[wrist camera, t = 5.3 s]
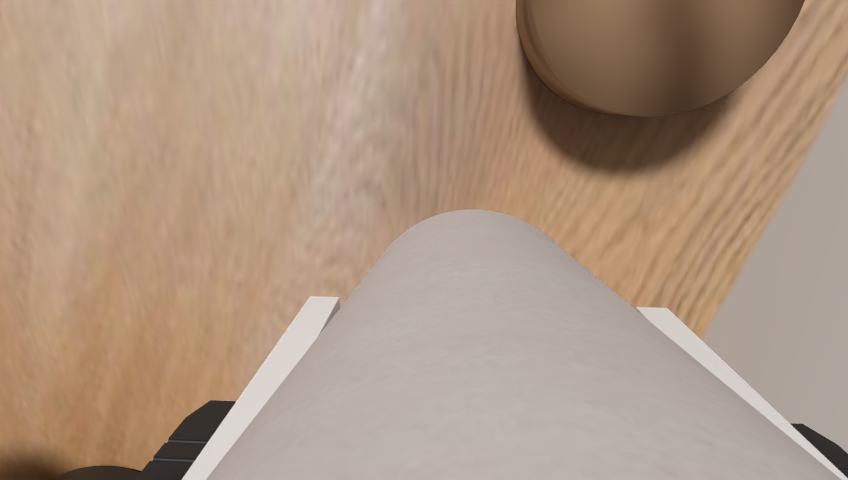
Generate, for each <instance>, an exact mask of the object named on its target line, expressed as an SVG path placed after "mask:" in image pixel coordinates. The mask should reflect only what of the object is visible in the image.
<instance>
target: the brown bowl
mask: <svg viewBox="0 0 848 480" xmlns="http://www.w3.org/2000/svg"><path fill="white" fill-rule="evenodd" d="M804 1H805V0H516V19H517V27H518V32H519V36H520V41H521V44H522V47H523V49H524V52H525V55H526V57H527V59H528V61H529V63H530V64H531V66H532V68H533V70H534V71H535V73H536V74H537V75H538V77H539V78H540V79H541V81H542V82H543V83H544V84H545V85H546V86H547V87H548V88H549V89H550V90H551V91H552V92H554V93H555V94H556V95H558V96H559V97H560V98H562V99H563V100H565V101H567V102H569V103H571V104H572V105H574V106H577V107H580V108H582V109H585V110H588V111H593V112H597V113H605V114H617V115H631V116H644V117H658V116H669V115H675V114H680V113H685V112H688V111H691V110H694V109H698V108H701V107H703V106H705V105H708V104H710V103H712V102H714V101H716V100H718V99H720V98H722V97H723V96H725V95H727V94H729V93H730V92H732V91H734V90H735V89H736V88H738V87H739V86H740V85H742V84H743V83H744V82H746V81H747V80H748V79H750V78H751V77H752V76H753V75H754V74H755V73H756V72H757V71H758V70H759V69H760V68H761V67H762V66H763V65H764V64H765V63H766V62H767V61H768V60H769V59H770V57H771V56H772V55H773V54H774V53H775V52H776V50H777V49H778V48H779V46H780V45H781V43H782V42H783V40H784V39H785V38H786V36H787V35H788V33H789V32H790V30H791V28H792V26H793V24H794V22H795V21H796V19H797V17H798V15H799V13H800V10H801V8H802V6H803V3H804Z"/></svg>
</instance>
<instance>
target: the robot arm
mask: <svg viewBox="0 0 848 480" xmlns="http://www.w3.org/2000/svg"><path fill="white" fill-rule="evenodd" d="M339 309H340V301H339V297H315V296H310V297H309V299H308V300H307V301H306V303H305V304H304V306H303V307H302V309H301V310H300V311H299V313H298V314H297V316H296V317H295V318H294V320H293V321H292V323H291V324H290V326H289V327H288V328H287V330H286V331H285V333H284V334H283V336H282V337H281V338H280V340H279V341H278V343H277V344H276V346H275V347H274V348H273V350H272V351H271V353H270V354H269V356H268V357H267V358H266V360H265V361H264V363H263V364H262V366H261V367H260V368H259V370H258V371H257V373H256V374H255V376H254V377H253V378H252V380H251V381H250V383H249V384H248V386H247V387H246V388H245V390H244V391H243V393H242V394H241V396H240V397H239V398H238V400H237V401H213V400H211V401H209V402H208V403H206V404H205V405H203V406H202V407H200V408H199V409H198V410H196V411H195V412H193V413H192V414H190V415H189V416H187V417H186V418H185V419H184V420H183V422H182V423H181V424H180V425H179V427H178V428H177V429H176V430H175V431H174V433H173V434H172V435H171V436H170V437H169V440H168V443H164V445H163V446H162V447H161V448H160V450H159V451H158V452H157V453H156V454H155V456H154V459H153V461H150V462H149V463H148V464H147V465H146V467H145V468H144V469H143V470H142V471H141V472H138V471H135V470H131V469H126V468H121V467H113V466H92V467H85V468H80V469H76V470H73V471H70V472H67V473H65V474H63V475H61V476H59V477H57V478H56V479H54V480H206V479H207V477H208V476H209V475H210V473H211V472H212V471H213V470H214V468H215V467H216V466H217V465H218V463H219V462H220V461H221V460H222V458H223V457H224V456H225V454H226V453H227V452H228V451H229V449H230V448H231V447H232V446H233V444H234V443H235V442H236V440H237V439H238V438H239V437H240V435H241V434H242V433H243V432H244V430H245V429H246V428H247V427H248V425H249V424H250V423H251V421H252V420H253V419H254V418H255V416H256V415H257V414H258V413H259V411H260V410H261V409H262V407H263V406H264V405H265V404H266V402H267V401H268V400H269V399H270V397H271V396H272V395H273V393H274V392H275V391H276V390H277V388H278V387H279V386H280V385H281V383H282V382H283V381H284V379H285V378H286V377H287V376H288V374H289V373H290V372H291V370H292V369H293V368H294V367H295V365H296V364H297V363H298V362H299V360H300V359H301V358H302V356H303V355H304V354H305V353H306V351H307V350H308V349H309V347H310V346H311V345H312V344H313V342H314V341H315V340H316V339H317V337H318V336H319V335H320V333H321V332H322V331H323V330H324V328H325V327H326V326H327V324H328V323H329V322H330V321H331V319H332V318H333V317H334V315H335V314H336V313H337V312H338V310H339ZM636 311H638V312H639V313H640V314H641V315H643V316H644V317H645V318H646V319H647V320H649V321H650V322H651V323H652V324H653V325H655V326H656V327H657V328H658V329H659V330H661V331H662V332H663V333H664V334H665V335H667V336H668V337H669V338H670V339H671V340H673V341H674V342H675V343H676V344H678V345H679V346H680V347H681V348H682V349H684V350H685V351H686V352H687V353H688V354H690V355H691V356H692V357H693V358H694V359H696V360H697V361H698V362H699V363H701V364H702V365H703V366H704V367H705V368H707V369H708V370H709V371H710V372H711V373H713V374H714V375H715V376H716V377H717V378H719V379H720V380H721V381H722V382H724V383H725V384H726V385H727V386H728V387H730V388H731V389H732V390H733V391H734V392H736V393H737V394H738V395H739V396H740V397H742V398H743V399H744V400H745V401H747V402H748V403H749V404H750V405H751V406H753V407H754V408H755V409H756V410H757V411H759V412H760V413H761V414H762V415H764V416H765V417H766V418H767V419H768V420H770V421H771V422H772V423H773V424H774V425H776V426H777V427H778V428H779V429H781V430H782V431H783V432H784V433H785V434H787V435H788V436H789V437H790V438H791V439H793V440H794V441H795V442H796V443H798V444H799V445H800V446H801V447H802V448H804V449H805V450H806V451H807V452H809V453H810V454H811V455H812V456H813V457H815V458H816V459H817V460H818V461H820V462H821V463H822V464H823V465H824V466H826V467H827V468H828V469H829V470H830V471H832V472H833V473H834V474H835V475H837V476H838V477H839V478H840V479H841V480H848V454H847V453H846V452H845V451H844V450H843V449H842V448H841V447H839V446H838V445H837V444H835V443H834V442H832V441H830V440H829V439H827V438H825V437H824V436H822V435H820V434H819V433H817V432H815V431H814V430H812V429H810V428H809V427H807V426H805V425H804V424H790V423H789V422H787V421H786V420H785V419H784V418H783V417H782V416H781V415H780V414H779V413H778V412H777V411H776V410H775V409H774V408H773V407H772V406H770V405H769V404H768V403H767V402H766V401H765V400H764V399H763V398H762V397H761V396H760V395H759V394H758V393H756V391H755V390H754V389H752V388H751V387H750V386H749V385H748V384H747V383H746V382H745V381H744V380H743V379H742V378H741V377H740V376H739V375H738V374H736V373H735V372H734V371H733V370H732V369H731V368H730V367H729V366H728V365H727V364H726V363H725V362H724V361H723V360H722V359H721V358H719V356H717V355H716V354H715V353H714V352H713V351H712V350H711V349H710V348H709V347H708V346H707V345H706V344H705V343H704V342H703V341H702V340H700V339H699V338H698V337H697V336H696V335H695V334H694V333H693V332H692V331H691V330H690V329H689V328H688V327H687V326H686V325H685V324H683V323H682V322H681V321H680V320H679V319H678V318H677V317H676V316H675V315H674V314H673V313H672V312H671V311H670V310H669V309H668V308H648V307H636Z"/></svg>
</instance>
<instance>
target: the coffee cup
mask: <svg viewBox="0 0 848 480" xmlns="http://www.w3.org/2000/svg"><path fill="white" fill-rule="evenodd" d="M206 480H841V479H840V478H839V477H838V476H837V475H835V474H834V473H833V472H832V471H830V470H829V469H828V468H827V467H826V466H824V465H823V464H822V463H821V462H820V461H818V460H817V459H816V458H815V457H813V456H812V455H811V454H810V453H809V452H807V451H806V450H805V449H804V448H802V447H801V446H800V445H799V444H798V443H796V442H795V441H794V440H793V439H791V438H790V437H789V436H788V435H787V434H785V433H784V432H783V431H782V430H781V429H779V428H778V427H777V426H776V425H774V424H773V423H772V422H771V421H770V420H768V419H767V418H766V417H765V416H764V415H762V414H761V413H760V412H759V411H757V410H756V409H755V408H754V407H753V406H751V405H750V404H749V403H748V402H747V401H745V400H744V399H743V398H742V397H740V396H739V395H738V394H737V393H736V392H734V391H733V390H732V389H731V388H730V387H728V386H727V385H726V384H725V383H724V382H722V381H721V380H720V379H719V378H717V377H716V376H715V375H714V374H713V373H711V372H710V371H709V370H708V369H707V368H705V367H704V366H703V365H702V364H701V363H699V362H698V361H697V360H696V359H694V358H693V357H692V356H691V355H690V354H688V353H687V352H686V351H685V350H684V349H682V348H681V347H680V346H679V345H678V344H676V343H675V342H674V341H673V340H671V339H670V338H669V337H668V336H667V335H665V334H664V333H663V332H662V331H661V330H659V329H658V328H657V327H656V326H655V325H653V324H652V323H651V322H650V321H649V320H647V319H646V318H645V317H644V316H643V315H641V314H640V313H639V312H638V311H636V310H635V309H634V308H633V307H632V306H630V305H629V304H628V303H627V302H626V301H624V300H623V299H622V298H621V297H620V296H618V295H617V294H616V293H615V292H614V291H612V290H611V289H610V288H609V287H608V286H606V285H605V284H604V283H603V282H602V281H600V280H599V279H598V278H597V277H596V276H594V275H593V274H592V273H591V272H590V271H588V270H587V269H586V268H585V267H584V266H582V265H581V264H580V263H579V262H578V261H576V260H575V259H574V258H573V257H572V256H570V255H569V254H568V253H567V252H566V251H564V250H563V249H562V248H561V247H560V246H558V245H557V244H556V243H555V242H554V241H552V240H551V239H550V238H549V237H547V236H546V235H545V234H544V233H542V232H541V231H540V230H538V229H537V228H535V227H534V226H532V225H530V224H528V223H527V222H525V221H523V220H520V219H518V218H516V217H513V216H510V215H507V214H504V213H500V212H495V211H489V210H477V209H470V210H457V211H451V212H446V213H442V214H439V215H436V216H433V217H430V218H428V219H426V220H423V221H421V222H419V223H418V224H416V225H414V226H412V227H411V228H409V229H408V230H406V231H405V232H404V233H402V234H401V235H400V236H399V237H398V238H397V239H395V240H394V241H393V242H392V243H391V244H390V246H389V247H388V248H387V249H386V250H385V251H384V253H383V254H382V255H381V256H380V258H379V259H378V260H377V262H376V263H375V264H374V265H373V267H372V268H371V269H370V271H369V272H368V273H367V274H366V276H365V277H364V278H363V280H362V281H361V282H360V283H359V285H358V286H357V287H356V289H355V290H354V291H353V292H352V294H351V295H350V296H349V298H348V299H347V300H346V301H345V303H344V304H343V305H342V307H341V308H340V309H339V310H338V312H337V313H336V314H335V315H334V317H333V318H332V319H331V321H330V322H329V323H328V324H327V326H326V327H325V328H324V330H323V331H322V332H321V333H320V335H319V336H318V337H317V339H316V340H315V341H314V342H313V344H312V345H311V346H310V347H309V349H308V350H307V351H306V353H305V354H304V355H303V356H302V358H301V359H300V360H299V362H298V363H297V364H296V365H295V367H294V368H293V369H292V370H291V372H290V373H289V374H288V376H287V377H286V378H285V379H284V381H283V382H282V383H281V385H280V386H279V387H278V388H277V390H276V391H275V392H274V393H273V395H272V396H271V397H270V399H269V400H268V401H267V402H266V404H265V405H264V406H263V407H262V409H261V410H260V411H259V413H258V414H257V415H256V416H255V418H254V419H253V420H252V421H251V423H250V424H249V425H248V427H247V428H246V429H245V430H244V432H243V433H242V434H241V435H240V437H239V438H238V439H237V440H236V442H235V443H234V444H233V446H232V447H231V448H230V449H229V451H228V452H227V453H226V454H225V456H224V457H223V458H222V460H221V461H220V462H219V463H218V465H217V466H216V467H215V468H214V470H213V471H212V472H211V473H210V475H209V476H208V477H207V479H206Z"/></svg>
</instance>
